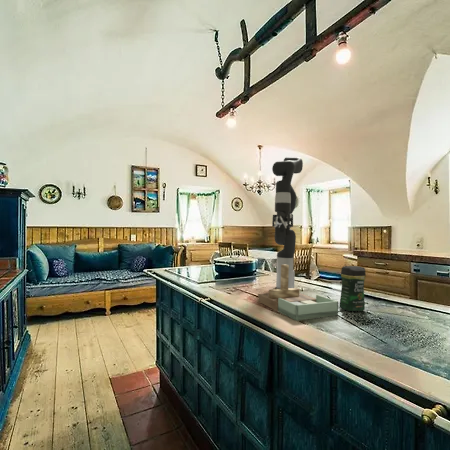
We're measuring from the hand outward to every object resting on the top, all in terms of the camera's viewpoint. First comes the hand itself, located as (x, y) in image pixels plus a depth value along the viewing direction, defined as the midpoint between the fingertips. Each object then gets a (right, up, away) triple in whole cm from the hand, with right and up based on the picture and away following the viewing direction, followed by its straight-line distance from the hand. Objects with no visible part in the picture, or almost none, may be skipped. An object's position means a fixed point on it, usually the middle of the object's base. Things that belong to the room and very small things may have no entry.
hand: (281, 235), depth 143 cm
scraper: (-1, -27, -11) cm, 29 cm away
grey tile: (+1, -28, -23) cm, 37 cm away
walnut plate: (0, -30, -12) cm, 32 cm away
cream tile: (+7, -28, -21) cm, 36 cm away
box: (+5, -30, -25) cm, 40 cm away
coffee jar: (+26, -31, -18) cm, 44 cm away
